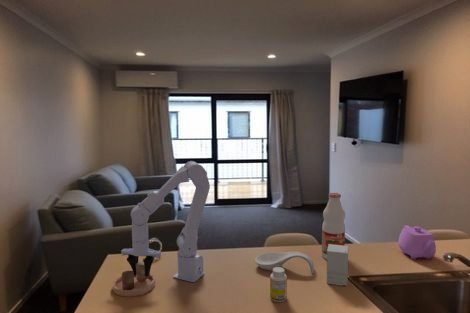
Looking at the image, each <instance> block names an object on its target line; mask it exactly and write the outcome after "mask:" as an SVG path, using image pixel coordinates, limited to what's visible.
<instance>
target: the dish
mask: <svg viewBox="0 0 470 313" xmlns="http://www.w3.org/2000/svg"><path fill="white" fill-rule="evenodd" d="M155 287H156V276H155V275H154V274H152V273H151V272H150V274H149V275H148V278H147V279H146V280H144V281H138V280H136V276H135V275H134V289H132V290H123V288H122V274H121V275H120V276H118V277H117V278H115V279H114V280H113V282H112V290H113V293H114V294H115V295H117V296H120V297H124V298H125V297H126V298H128V297H129V298H130V297H131V298H132V297H138V296H143V295H144V294H147V293H149V292H150V291H152V290H153V289H154V288H155Z"/></svg>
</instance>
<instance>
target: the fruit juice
mask: <svg viewBox="0 0 470 313" xmlns="http://www.w3.org/2000/svg"><path fill="white" fill-rule="evenodd" d="M328 198H329V199H328V201H327V204H326V207H325V208H324V210H323V212H322V217H323V222H322V227H321V231H322V232H321V256H322V258H323V259H325V260H327V249H328V244H333V245H342V246H345V243H346V242H345V240H346V239H345V238H346V237H345V236H346V225H345V224H346V223H345V218H346V212H345V210H344V208H343V206H342V202H341V194H340V193H338V192H329V193H328Z"/></svg>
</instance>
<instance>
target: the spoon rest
mask: <svg viewBox="0 0 470 313" xmlns="http://www.w3.org/2000/svg"><path fill="white" fill-rule="evenodd" d="M294 258H300V259H302V260H304V261H306V262H307V263H308V265H309V268H310V273H311V274H314V273H315V264H314V262H313V259H312V258H311V257H310V256H309V255H307V254H305V253H303V252H300V251H288V252H287V251H286V252H266V253H261V254H258V255H257V256H256V257H255V259H254V263H255V264H256V265H257V266H258V267H260V268H261V269H263V270H266V271H273V268H275V267H281V268H282V266H283V265H284V264H285V263H287V262H288V261H290V260H291V259H294Z"/></svg>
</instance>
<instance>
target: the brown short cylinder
mask: <svg viewBox="0 0 470 313" xmlns="http://www.w3.org/2000/svg"><path fill="white" fill-rule="evenodd" d="M121 275H122V288H123V290H132V289H134V272H133V270H125V271H122V273H121Z"/></svg>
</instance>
